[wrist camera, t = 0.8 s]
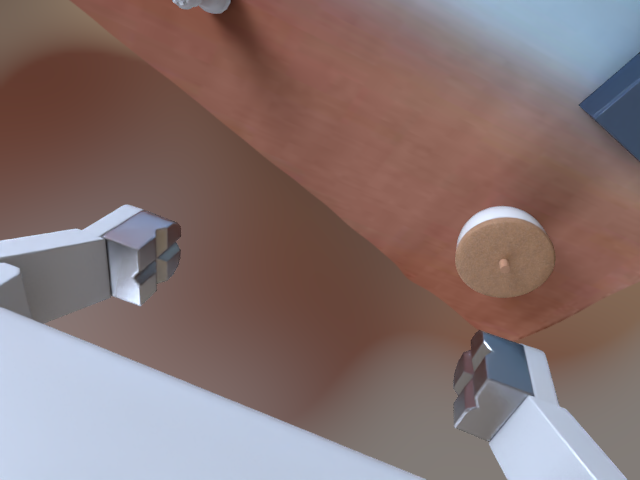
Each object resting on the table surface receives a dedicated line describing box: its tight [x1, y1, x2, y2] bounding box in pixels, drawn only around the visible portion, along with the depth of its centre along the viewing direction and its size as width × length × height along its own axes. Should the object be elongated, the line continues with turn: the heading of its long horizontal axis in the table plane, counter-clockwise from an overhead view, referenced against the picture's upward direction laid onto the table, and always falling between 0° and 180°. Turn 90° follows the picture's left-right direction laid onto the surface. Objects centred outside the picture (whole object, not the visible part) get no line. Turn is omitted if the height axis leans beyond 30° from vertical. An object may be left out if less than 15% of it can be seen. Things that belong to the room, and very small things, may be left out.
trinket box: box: [455, 206, 556, 298], centre depth 49 cm, size 11×11×9 cm
